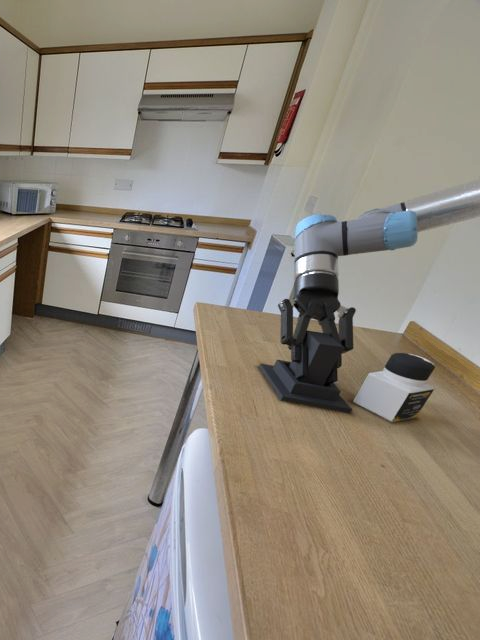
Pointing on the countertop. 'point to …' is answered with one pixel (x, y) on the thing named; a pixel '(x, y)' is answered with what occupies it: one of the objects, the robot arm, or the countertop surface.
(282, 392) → the base pad
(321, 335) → the upright block
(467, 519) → the countertop surface
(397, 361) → the medicine bottle
